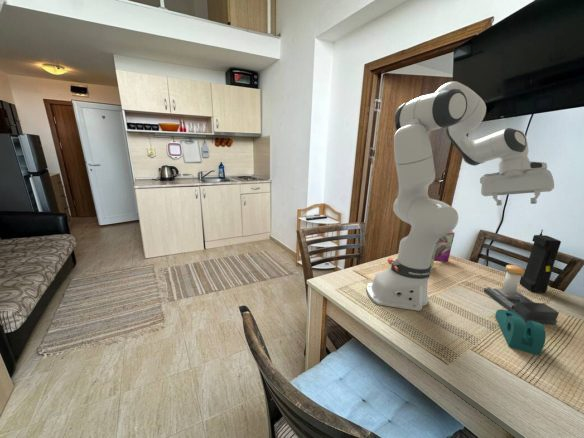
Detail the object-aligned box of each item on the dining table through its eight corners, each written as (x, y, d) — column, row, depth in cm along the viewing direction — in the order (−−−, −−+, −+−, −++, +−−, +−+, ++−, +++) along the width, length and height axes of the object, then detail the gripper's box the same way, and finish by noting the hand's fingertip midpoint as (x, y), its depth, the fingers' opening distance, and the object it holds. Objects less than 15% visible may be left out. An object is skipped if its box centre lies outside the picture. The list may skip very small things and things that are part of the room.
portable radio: (549, 295, 97) (569, 236, 90) (531, 293, 98) (550, 235, 91) (534, 284, 104) (552, 230, 97) (518, 283, 105) (535, 228, 99)
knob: (495, 291, 95) (502, 264, 92) (508, 292, 95) (516, 265, 92) (505, 299, 90) (514, 270, 87) (520, 299, 90) (529, 271, 87)
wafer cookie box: (424, 260, 126) (430, 230, 122) (422, 256, 131) (427, 227, 126) (448, 262, 124) (455, 232, 119) (445, 258, 128) (451, 229, 124)
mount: (483, 291, 98) (486, 281, 97) (508, 292, 98) (512, 282, 96) (524, 323, 80) (528, 311, 79) (556, 324, 79) (560, 312, 78)
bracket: (539, 356, 67) (548, 332, 65) (508, 347, 70) (515, 324, 68) (517, 318, 82) (524, 298, 80) (492, 312, 85) (498, 293, 83)
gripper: (479, 171, 98) (479, 203, 94) (553, 162, 84) (556, 198, 81) (480, 177, 102) (481, 208, 99) (550, 169, 89) (554, 205, 85)
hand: (515, 204), depth 90 cm, fingers open, 8 cm apart
